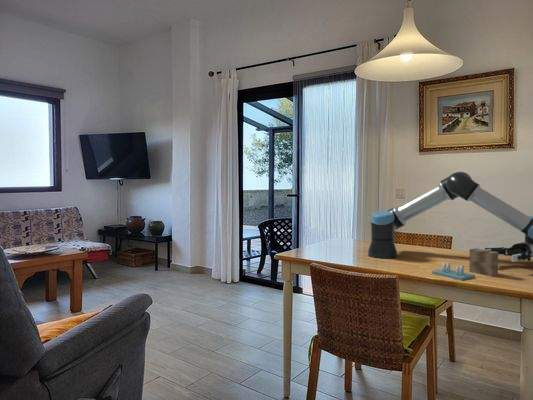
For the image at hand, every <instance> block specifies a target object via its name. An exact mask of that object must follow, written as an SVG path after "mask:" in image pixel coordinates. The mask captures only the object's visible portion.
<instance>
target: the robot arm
mask: <svg viewBox="0 0 533 400" xmlns="http://www.w3.org/2000/svg"><path fill="white" fill-rule="evenodd" d="M457 198H461V199H463V200H464V201H466V202H472V203H473V204H475V205H477V206H478V207H480V208H482V209H483V210H485V211H487V212H489V214H492V215H493V216H495V217H496V218H498V219H500V220H501V221H503V222H504V223H506V224H509V225H510V226H511V227H513V228H515V229H516V230H518V231H519V232H520V233H523V234H524V242H523V241H522V242H518V243H514V244H513V245H512V246H511V247H504V246H502V247H484V250H489V251H495V252H498V255H502V256H506V257H507V256H510V257H511V263H514V262H518V261H525V260H527V261H531V259H532V258H533V215H527V214H526V213H524V212H522V211H520V210H519V209H517V208H515V207H513V206H512V205H510V204H508V203H507V202H505V201H503V200H502V199H500V198H498V197H497V196H496V195H493V194H491V192H488V191H487V190H485V189H483V188H482V187H481V185H480V184H479V183H477V182H476V181H475V180H473V179H472V177H471V176H470V174H468V173H467V172H464V171H456V172H453V173H451V174H450V175H449V176H448V177H445V178H443V179H442V180H440V181H439V183H438V185H437V186H435V187H434V188H432V189H430V190H428V191H426V192H424V193H423V194H421V195H419V196H417V197H415V198H414V199H412V200H410V201H408V202H406V203H405V204H403V205H401V206H399V207H397V206H394V207H391V208H390V209H387V210H380V211H375V212H373V213H371V217H370V224H371V226H370V229H371V234H370V235H371V236H370V237H371V239H370V243H369V247H368V250H367V256H368V257H371V258H376V259H377V258H378V259H391V258H393V259H394V258H397V257H398V250H397V248H396V245H395V244H396V243H395V231H397V230H399V229H401V228H403V227H405V226H406V225H407V222H408V221H410V220H411V219H413V218H415V217H417V216H419V215H420V214H423V213H426V211H429V210H431V209H432V208H434V207H436V206H439V205H440V204H442V203H443V202H446V201H448V200H449V201H453V200H455V199H457Z"/></svg>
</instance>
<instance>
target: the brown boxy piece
mask: <svg viewBox="0 0 533 400" xmlns="http://www.w3.org/2000/svg"><path fill="white" fill-rule="evenodd" d="M468 265H469V267H468V268H469V269H468V270H469V273H471V274H473V273H474V274H478V275H482V276H487V277H496V276H498V275H499V254H498V252H495V251H489V250H485V249H483V248H482V249H481V248H471V249H469V264H468Z"/></svg>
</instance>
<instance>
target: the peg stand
mask: <svg viewBox="0 0 533 400" xmlns="http://www.w3.org/2000/svg"><path fill="white" fill-rule="evenodd" d="M431 274H433V275H438V276H442V277H446V278H449V279H453V280H458V281H464V280H468V279H473V278H476V275H475V274H473V273H467V272H465V265H459V266H457V265H456V266H455V270H453V269H451V263H450V262H446V263H442V268H440V269H437V270H432V271H431Z"/></svg>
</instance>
